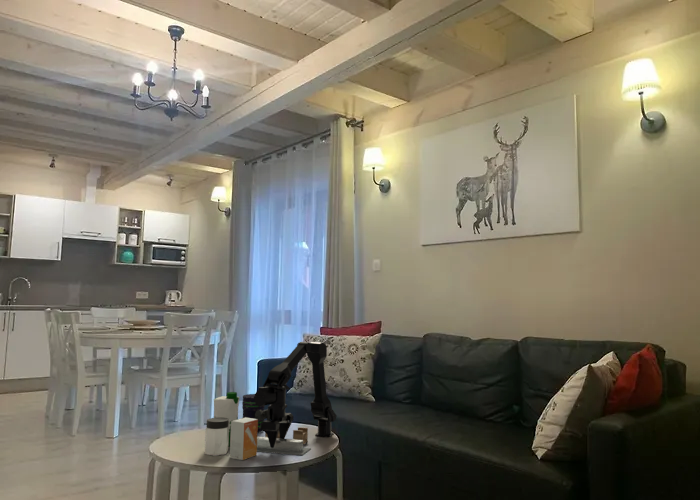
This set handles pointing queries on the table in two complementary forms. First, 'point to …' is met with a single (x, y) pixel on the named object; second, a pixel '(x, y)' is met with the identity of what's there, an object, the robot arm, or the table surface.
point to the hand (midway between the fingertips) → (277, 444)
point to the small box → (243, 438)
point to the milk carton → (227, 408)
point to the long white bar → (280, 444)
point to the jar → (217, 436)
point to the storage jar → (251, 408)
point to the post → (301, 434)
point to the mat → (284, 451)
